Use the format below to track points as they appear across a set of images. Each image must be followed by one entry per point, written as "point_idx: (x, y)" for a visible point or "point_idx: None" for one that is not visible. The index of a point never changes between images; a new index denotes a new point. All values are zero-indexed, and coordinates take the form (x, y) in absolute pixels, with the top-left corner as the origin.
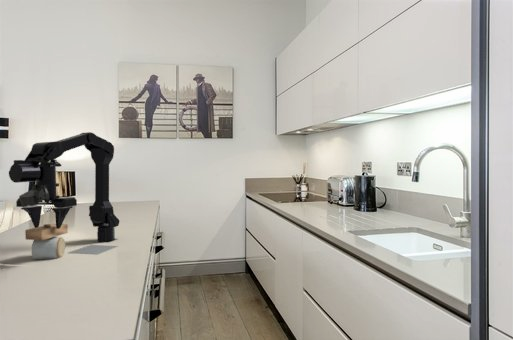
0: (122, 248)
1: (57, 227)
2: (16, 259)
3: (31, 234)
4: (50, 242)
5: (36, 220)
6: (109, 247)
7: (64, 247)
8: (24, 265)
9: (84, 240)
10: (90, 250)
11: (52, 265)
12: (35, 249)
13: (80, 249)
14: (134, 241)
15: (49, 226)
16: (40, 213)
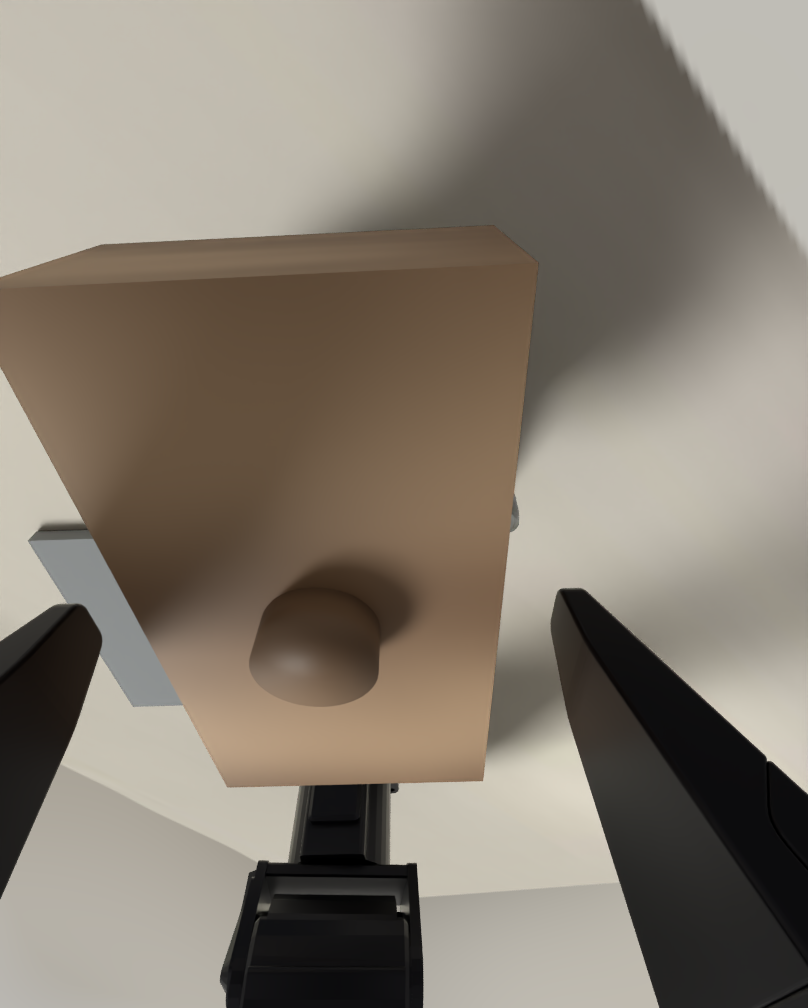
0: (98, 689)
1: (37, 617)
2: (682, 307)
3: (332, 250)
4: None
5: (609, 741)
6: (155, 677)
7: None
8: (401, 101)
9: (510, 762)
10: None
11: (82, 187)
12: None
13: None
14: (193, 783)
15: (255, 636)
16: (658, 985)
